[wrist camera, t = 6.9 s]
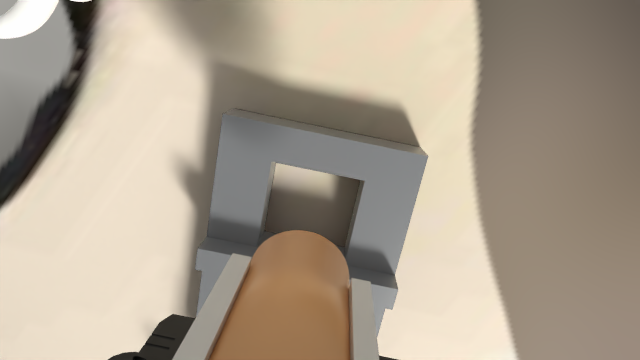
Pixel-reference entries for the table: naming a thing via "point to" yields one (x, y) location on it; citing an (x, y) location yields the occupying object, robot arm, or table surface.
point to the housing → (320, 155)
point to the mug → (26, 17)
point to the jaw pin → (290, 303)
